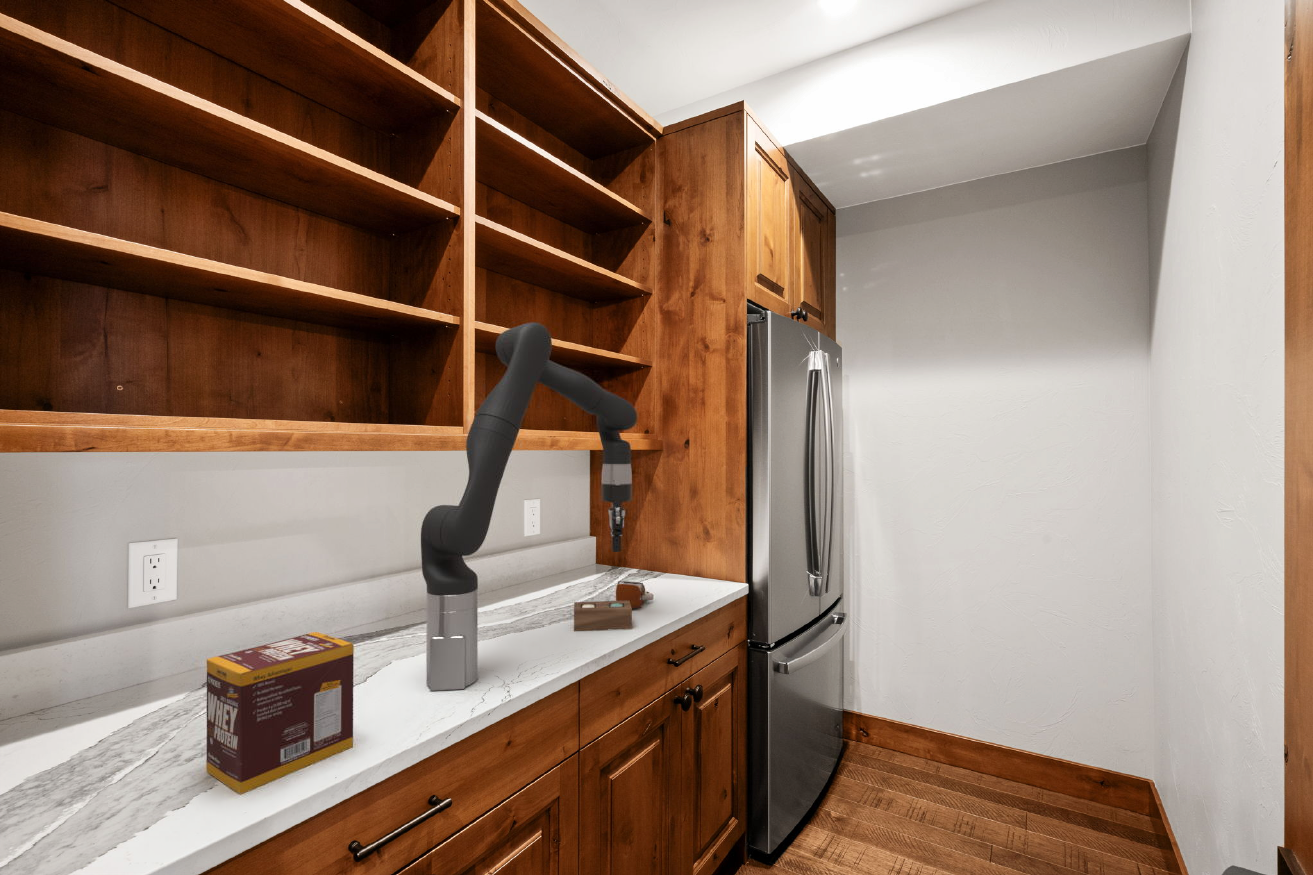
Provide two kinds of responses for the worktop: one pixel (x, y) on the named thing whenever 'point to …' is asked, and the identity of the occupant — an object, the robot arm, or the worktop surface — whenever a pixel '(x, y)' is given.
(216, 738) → the supplement box
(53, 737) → the worktop surface
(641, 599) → the toy
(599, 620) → the socket block
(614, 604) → the peg teal
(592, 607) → the peg cream
